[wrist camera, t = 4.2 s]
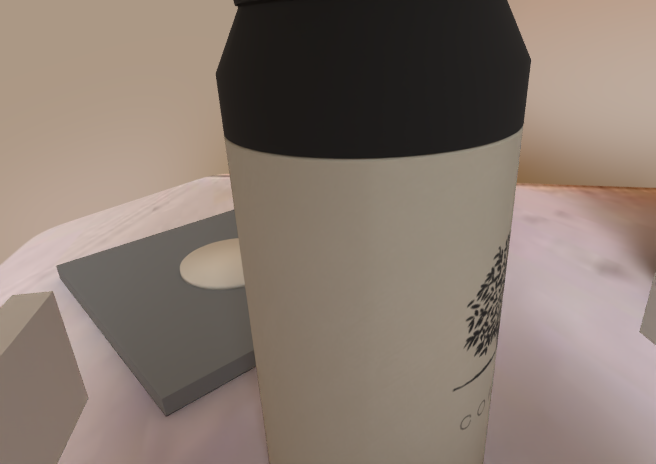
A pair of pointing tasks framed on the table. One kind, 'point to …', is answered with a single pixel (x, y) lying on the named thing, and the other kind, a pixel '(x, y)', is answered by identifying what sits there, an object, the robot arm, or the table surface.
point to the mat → (172, 307)
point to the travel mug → (374, 218)
